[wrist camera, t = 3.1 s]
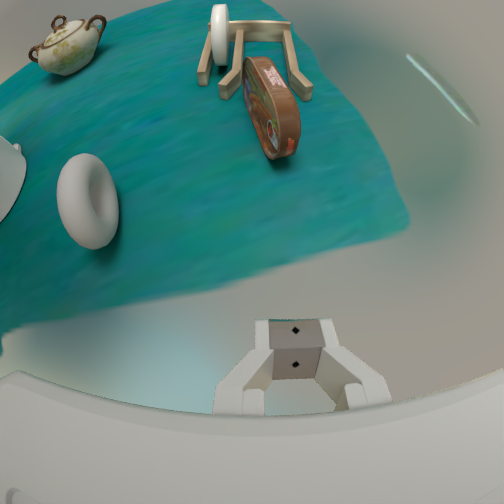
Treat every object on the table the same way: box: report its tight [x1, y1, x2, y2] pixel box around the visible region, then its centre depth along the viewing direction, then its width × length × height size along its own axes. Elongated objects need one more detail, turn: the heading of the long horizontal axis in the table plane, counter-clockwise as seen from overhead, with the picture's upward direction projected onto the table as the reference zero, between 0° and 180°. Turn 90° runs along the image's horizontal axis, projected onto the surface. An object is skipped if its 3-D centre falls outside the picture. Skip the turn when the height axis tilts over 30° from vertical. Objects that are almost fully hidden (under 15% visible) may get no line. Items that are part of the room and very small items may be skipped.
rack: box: [197, 21, 313, 102], centre depth 35 cm, size 16×19×4 cm
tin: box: [242, 57, 301, 160], centre depth 29 cm, size 15×3×8 cm, turn 15°
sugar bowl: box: [29, 15, 107, 76], centre depth 34 cm, size 20×15×15 cm
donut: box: [57, 153, 119, 249], centre depth 24 cm, size 10×4×10 cm, turn 11°
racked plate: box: [211, 4, 230, 66], centre depth 32 cm, size 2×11×11 cm, turn 0°
